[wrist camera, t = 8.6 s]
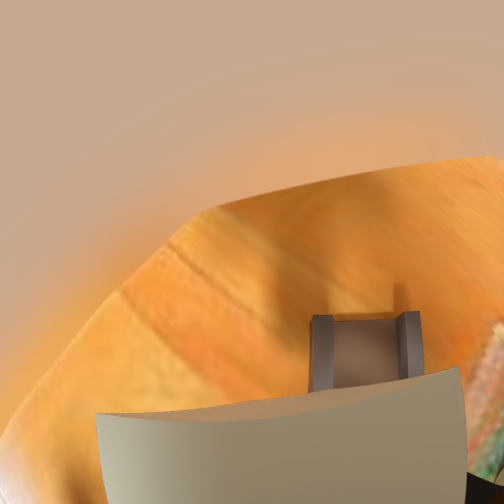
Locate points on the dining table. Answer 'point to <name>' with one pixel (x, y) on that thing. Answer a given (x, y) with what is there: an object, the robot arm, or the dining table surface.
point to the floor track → (364, 351)
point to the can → (500, 478)
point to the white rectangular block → (296, 448)
